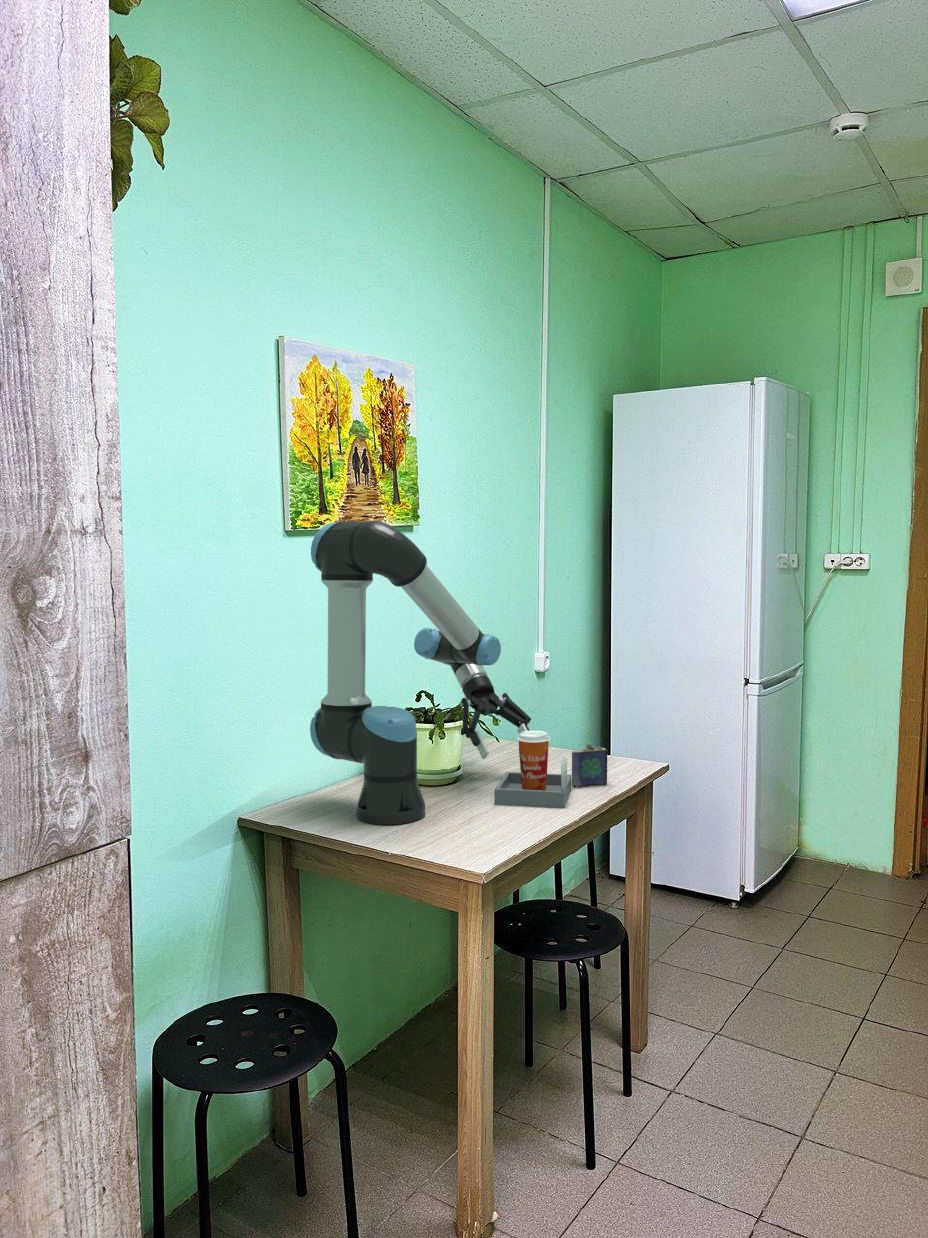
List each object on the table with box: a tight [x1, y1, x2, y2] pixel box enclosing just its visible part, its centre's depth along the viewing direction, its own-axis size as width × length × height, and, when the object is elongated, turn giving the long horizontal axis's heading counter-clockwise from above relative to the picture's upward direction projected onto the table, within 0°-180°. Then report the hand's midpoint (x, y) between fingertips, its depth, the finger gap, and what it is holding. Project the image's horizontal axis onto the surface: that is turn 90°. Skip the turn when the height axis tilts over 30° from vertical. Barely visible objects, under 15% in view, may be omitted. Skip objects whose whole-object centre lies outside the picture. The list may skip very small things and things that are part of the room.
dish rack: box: [493, 756, 572, 809], centre depth 215 cm, size 16×16×10 cm
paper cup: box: [516, 730, 552, 791], centre depth 215 cm, size 8×8×14 cm
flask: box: [571, 741, 609, 789], centre depth 224 cm, size 9×3×11 cm, turn 105°
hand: (509, 752), depth 223 cm, fingers open, 13 cm apart
